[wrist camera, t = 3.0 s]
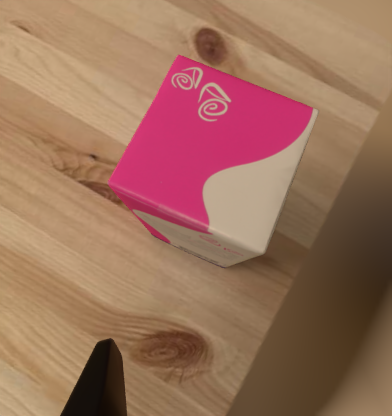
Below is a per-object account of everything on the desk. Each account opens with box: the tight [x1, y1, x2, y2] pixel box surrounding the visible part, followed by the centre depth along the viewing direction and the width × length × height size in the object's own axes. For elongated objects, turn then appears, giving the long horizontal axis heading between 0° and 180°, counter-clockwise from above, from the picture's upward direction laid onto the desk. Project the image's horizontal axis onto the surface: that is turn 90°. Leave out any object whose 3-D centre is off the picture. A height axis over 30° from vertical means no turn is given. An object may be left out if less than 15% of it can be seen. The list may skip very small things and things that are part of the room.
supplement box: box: [107, 55, 319, 268], centre depth 16 cm, size 6×6×12 cm
